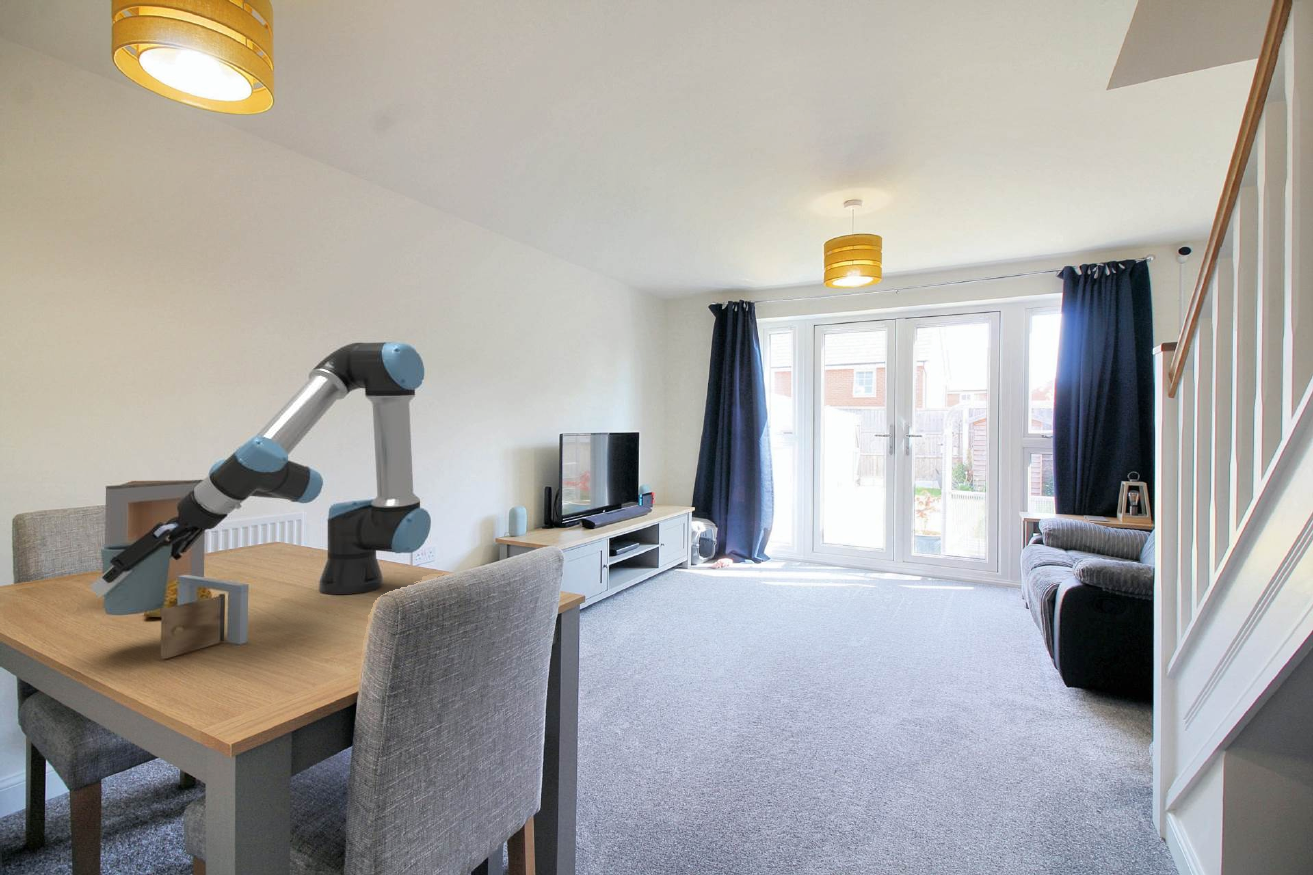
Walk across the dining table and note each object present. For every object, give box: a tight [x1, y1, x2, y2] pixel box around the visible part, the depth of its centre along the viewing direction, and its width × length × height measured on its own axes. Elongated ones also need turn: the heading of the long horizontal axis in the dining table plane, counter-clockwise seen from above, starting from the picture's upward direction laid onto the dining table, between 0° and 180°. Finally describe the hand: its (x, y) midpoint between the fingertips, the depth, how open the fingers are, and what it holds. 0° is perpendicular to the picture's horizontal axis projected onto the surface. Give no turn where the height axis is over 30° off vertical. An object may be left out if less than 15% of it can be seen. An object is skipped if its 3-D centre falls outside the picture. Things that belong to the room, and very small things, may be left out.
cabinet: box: [103, 479, 206, 604], centre depth 147 cm, size 21×10×28 cm, turn 161°
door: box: [160, 593, 226, 660], centre depth 113 cm, size 10×2×9 cm, turn 156°
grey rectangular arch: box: [177, 575, 249, 645], centre depth 121 cm, size 18×2×12 cm, turn 71°
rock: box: [143, 580, 213, 618], centre depth 135 cm, size 11×8×10 cm
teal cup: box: [100, 542, 172, 616], centre depth 113 cm, size 10×10×12 cm
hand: (119, 584), depth 112 cm, fingers closed on teal cup, 10 cm apart
